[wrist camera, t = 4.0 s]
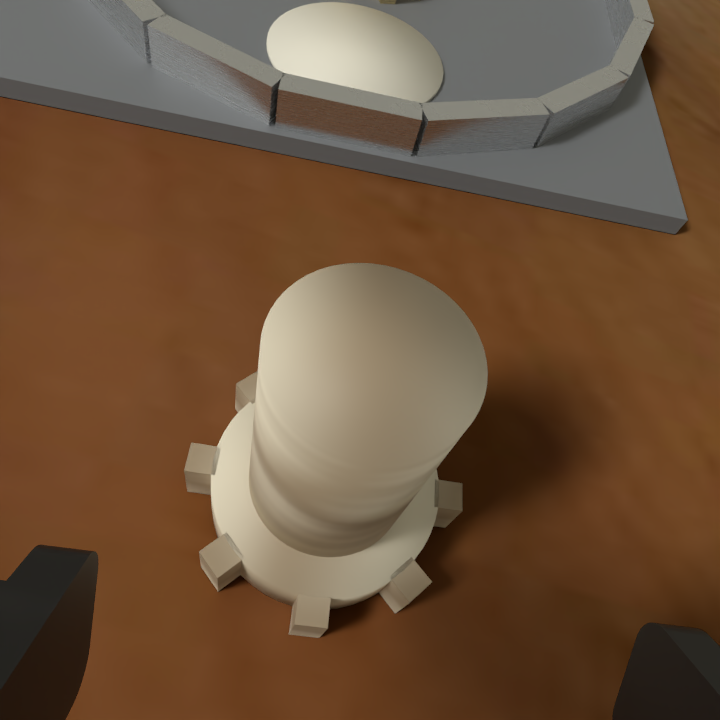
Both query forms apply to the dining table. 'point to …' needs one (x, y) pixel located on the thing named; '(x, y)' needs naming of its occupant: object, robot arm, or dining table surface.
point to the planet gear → (342, 443)
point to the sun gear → (387, 1)
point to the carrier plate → (376, 87)
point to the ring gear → (372, 110)
